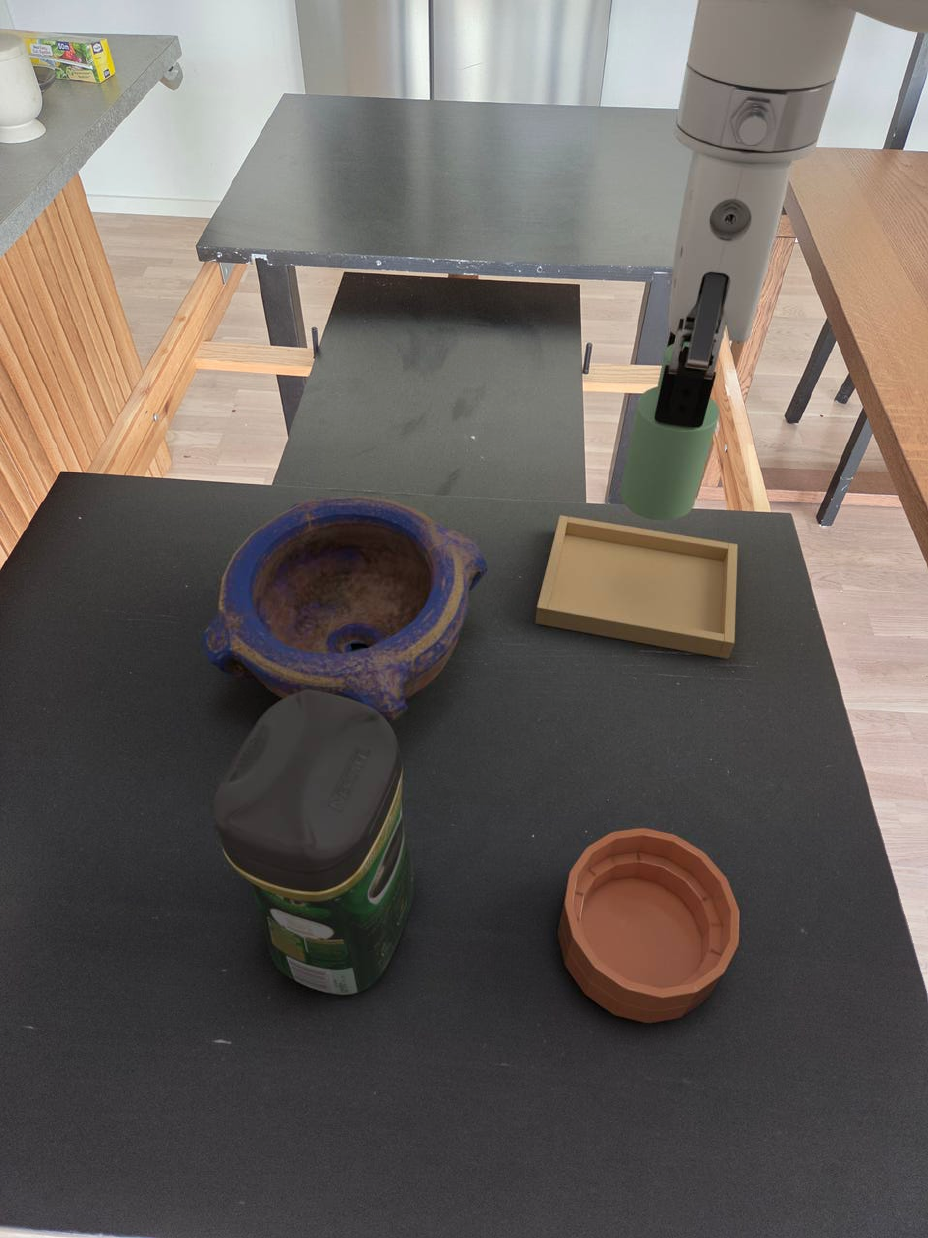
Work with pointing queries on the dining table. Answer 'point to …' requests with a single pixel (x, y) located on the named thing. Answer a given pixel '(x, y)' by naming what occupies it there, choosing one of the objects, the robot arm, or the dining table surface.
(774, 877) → the dining table surface
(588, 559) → the tray
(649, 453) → the bottle
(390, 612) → the bowl
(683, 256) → the robot arm
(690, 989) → the clay bowl
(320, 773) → the coffee jar
